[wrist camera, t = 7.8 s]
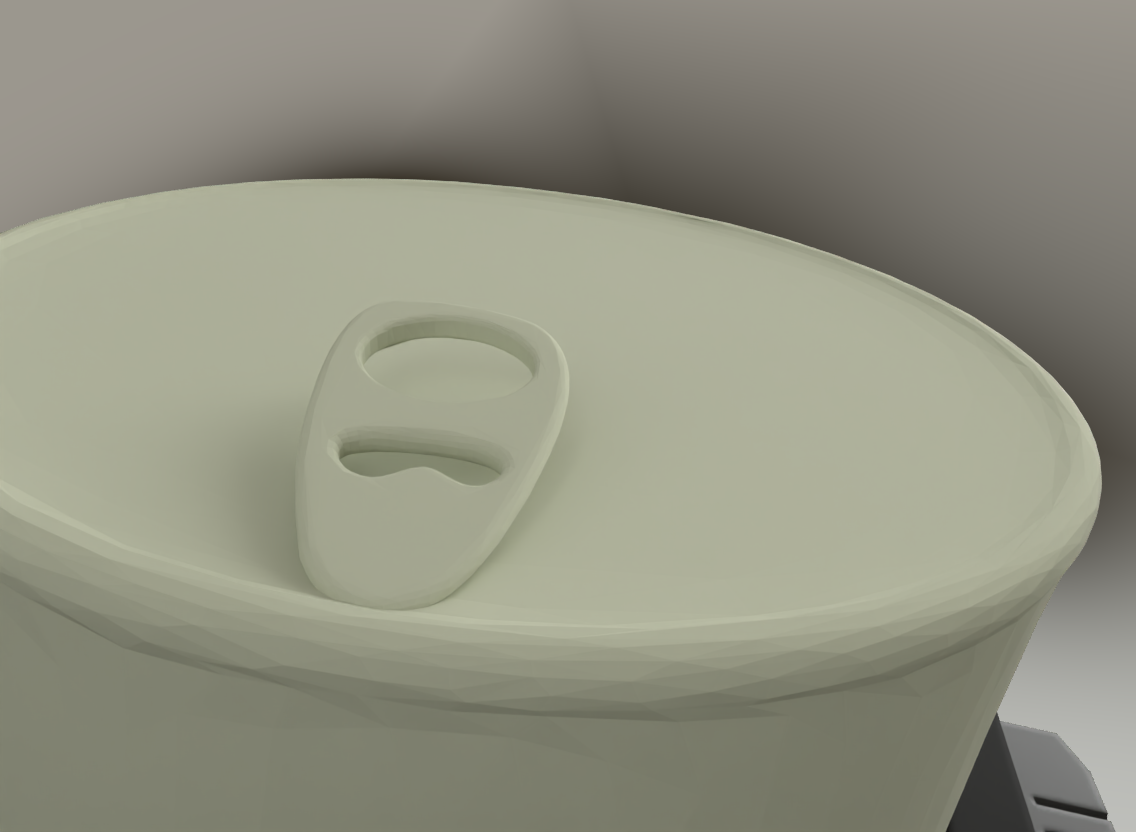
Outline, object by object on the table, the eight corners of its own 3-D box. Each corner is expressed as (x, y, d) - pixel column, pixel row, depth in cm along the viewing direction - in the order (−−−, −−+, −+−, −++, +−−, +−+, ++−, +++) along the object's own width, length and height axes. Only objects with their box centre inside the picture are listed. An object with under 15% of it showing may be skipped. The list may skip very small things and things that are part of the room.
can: (-141, 1535, 9) (-797, 382, 4) (251, 781, 17) (220, 106, 12) (832, 1724, 8) (1621, 743, 3) (749, 861, 17) (937, 200, 12)
